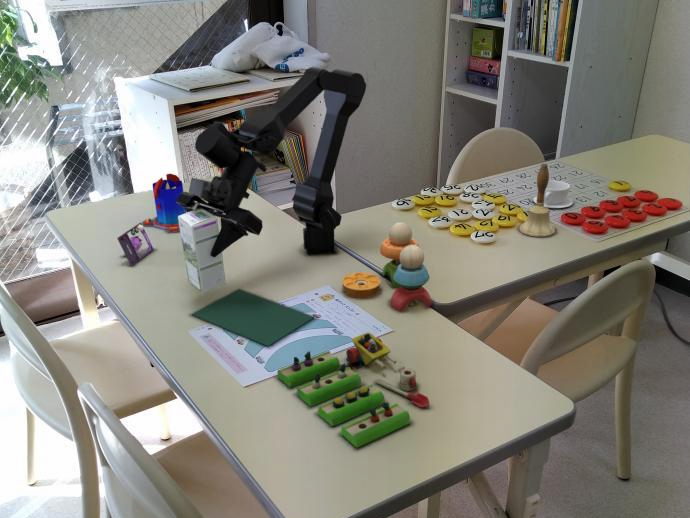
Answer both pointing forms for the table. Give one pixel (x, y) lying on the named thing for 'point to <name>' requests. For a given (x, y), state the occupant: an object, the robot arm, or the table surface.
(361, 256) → the table surface
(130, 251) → the game card
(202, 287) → the syrup box
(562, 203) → the teacup
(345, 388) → the toy garden set
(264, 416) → the table surface
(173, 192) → the fantasy tower
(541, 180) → the hand bell
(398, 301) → the wooden stacking toy
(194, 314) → the green mat
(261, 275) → the table surface
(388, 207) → the table surface
